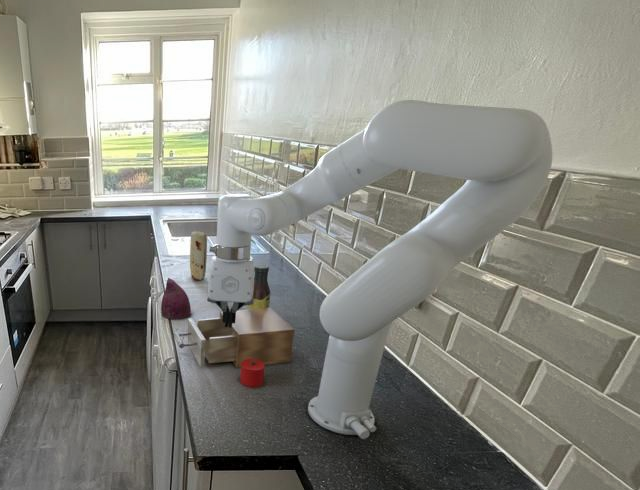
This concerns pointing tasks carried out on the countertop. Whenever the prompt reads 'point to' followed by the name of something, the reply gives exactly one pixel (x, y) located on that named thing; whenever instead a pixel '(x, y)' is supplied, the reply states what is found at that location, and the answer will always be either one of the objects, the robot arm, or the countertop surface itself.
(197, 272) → the food model
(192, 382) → the countertop surface
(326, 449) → the countertop surface
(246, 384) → the red cylinder
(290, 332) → the cabinet
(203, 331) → the drawer
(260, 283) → the sauce bottle
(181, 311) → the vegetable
